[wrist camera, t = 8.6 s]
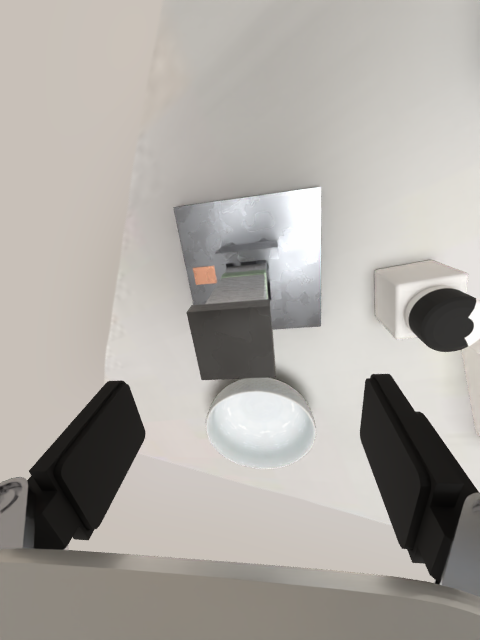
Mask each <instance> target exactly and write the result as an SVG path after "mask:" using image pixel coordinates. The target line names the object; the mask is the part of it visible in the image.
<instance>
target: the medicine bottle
mask: <svg viewBox="0 0 480 640" xmlns="http://www.w3.org/2000/svg"><path fill="white" fill-rule="evenodd" d="M467 284H468V274H467V273H466V272H463V271H460V270H458V269H455V268H452V267H450V266H447V265H444V264H442V263H439V262H436V261H433V260H428V261H422V262H417V263H411V264H405V265H400V266H394V267H389V268H383V269H378V270H375V316H376V318H377V319H378V320H379V321H380V322H381V324H382V325H383V326H384V327H385V328H386V329H387V330H388V331H389V332H390V333H391V335H392V336H393V337H394V338H395V339H396V340H403V339H410V338H419V339H420V340H421V341H423V342H424V343H425V344H426V345H427V346H428V347H430V348H431V349H434V350H436V351H441V352H451V351H457V350H461V349H464V348H466V347H468V346H470V345H472V344H474V343H475V342H476V341H477V340H479V339H480V300H478V299H476V298H474V297H472V296H470V295H468V294H466V292H467Z"/></svg>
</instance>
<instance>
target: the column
mask: <svg viewBox="0 0 480 640" xmlns="http://www.w3.org/2000/svg"><path fill="white" fill-rule="evenodd" d="M187 316H188V320H189V325H190V329H191V334H192V339H193V343H194V348H195V352H196V357H197V361H198V366H199V370H200V375H201V379H202V380H216V379H242V378H269V377H276V367H275V355H274V343H273V330H272V318H271V306H270V299H269V298H268V286H267V274H266V263H263V264H253V265H243V266H233V267H228V268H227V270H226V271H225V273H223V275H222V276H221V279H220V281H219V283H218V284H217V286H216V287H215V289H214V291H213V292H212V294H211V295H210V297H209V299H208V300H207V302H206V304H202V305H192V306H191V307H190V309H189V310H188V311H187Z"/></svg>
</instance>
